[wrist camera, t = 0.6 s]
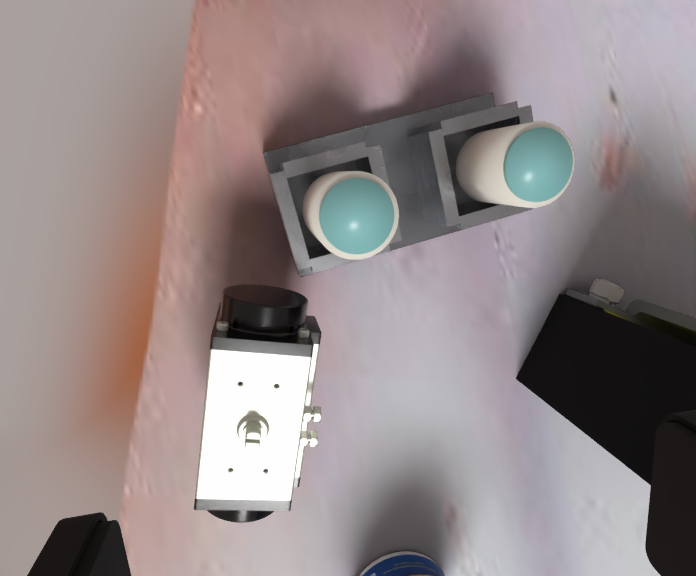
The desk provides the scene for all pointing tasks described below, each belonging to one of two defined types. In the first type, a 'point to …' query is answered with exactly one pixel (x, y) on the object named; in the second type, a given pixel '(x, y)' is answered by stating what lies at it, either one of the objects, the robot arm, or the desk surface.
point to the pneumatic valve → (257, 403)
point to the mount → (394, 174)
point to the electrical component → (614, 369)
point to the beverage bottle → (403, 565)
